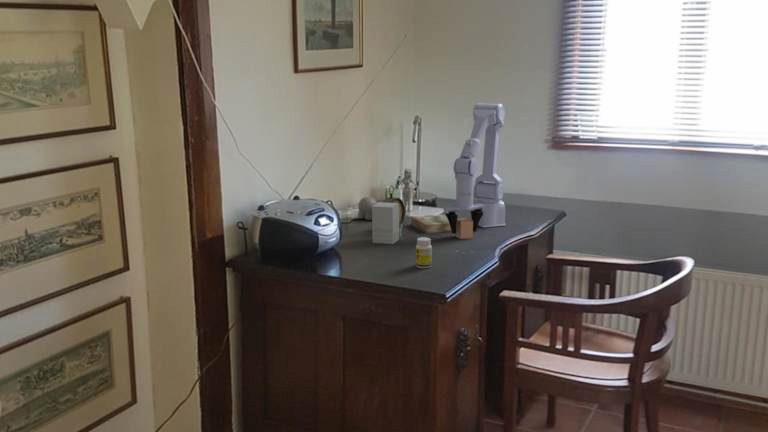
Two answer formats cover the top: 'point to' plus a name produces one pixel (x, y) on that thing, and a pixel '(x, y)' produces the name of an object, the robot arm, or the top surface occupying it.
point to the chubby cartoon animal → (366, 208)
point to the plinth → (431, 223)
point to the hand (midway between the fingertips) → (463, 232)
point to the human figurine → (407, 189)
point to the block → (464, 228)
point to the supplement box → (385, 222)
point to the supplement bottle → (423, 253)
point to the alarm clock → (401, 206)
